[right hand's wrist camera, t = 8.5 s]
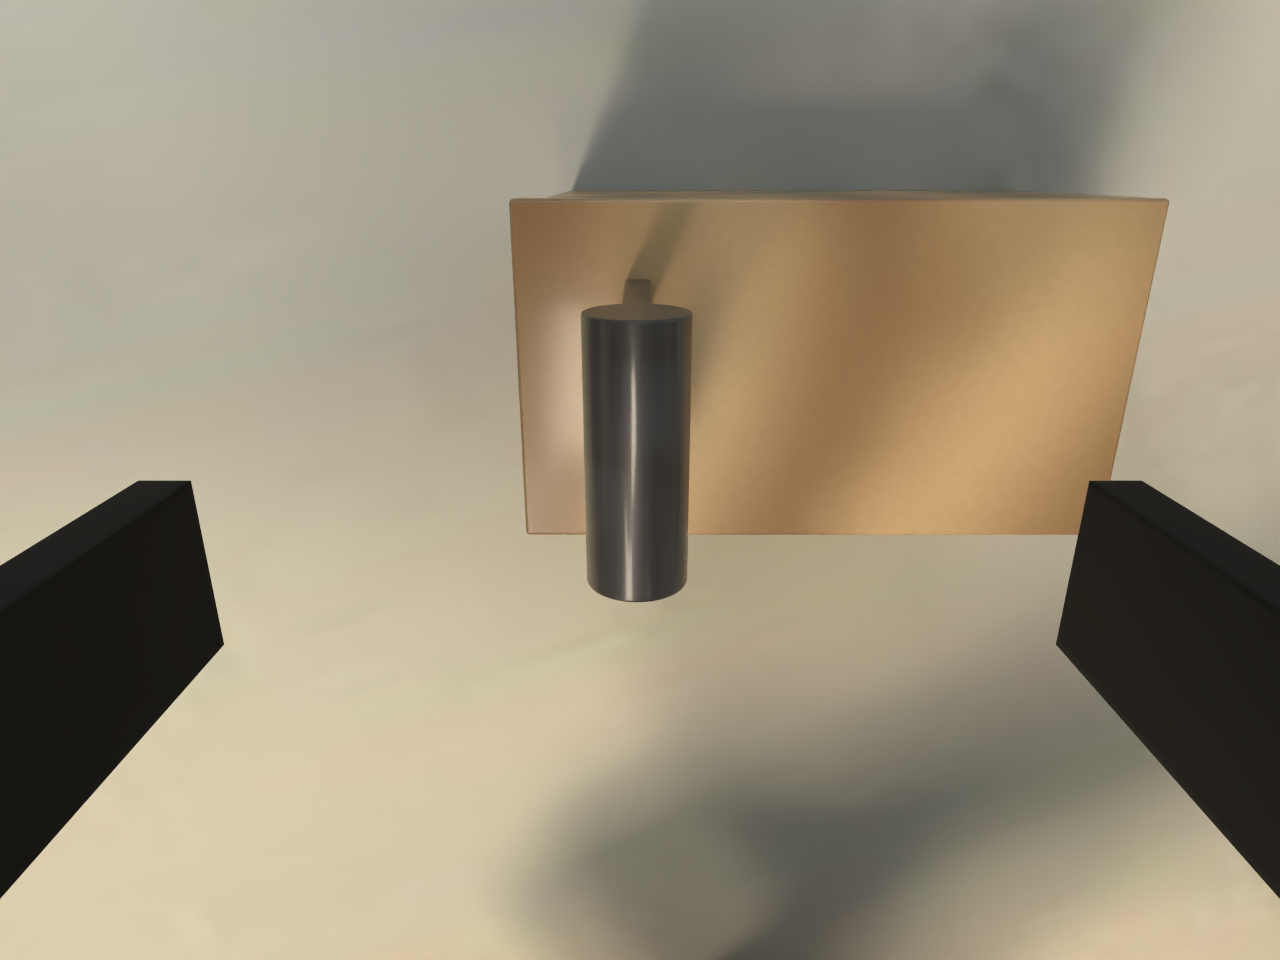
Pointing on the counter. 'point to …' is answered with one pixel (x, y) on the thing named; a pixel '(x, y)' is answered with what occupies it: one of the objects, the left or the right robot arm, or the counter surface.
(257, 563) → the counter surface
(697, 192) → the chest
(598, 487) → the lid
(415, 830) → the counter surface
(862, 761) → the counter surface
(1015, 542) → the counter surface
